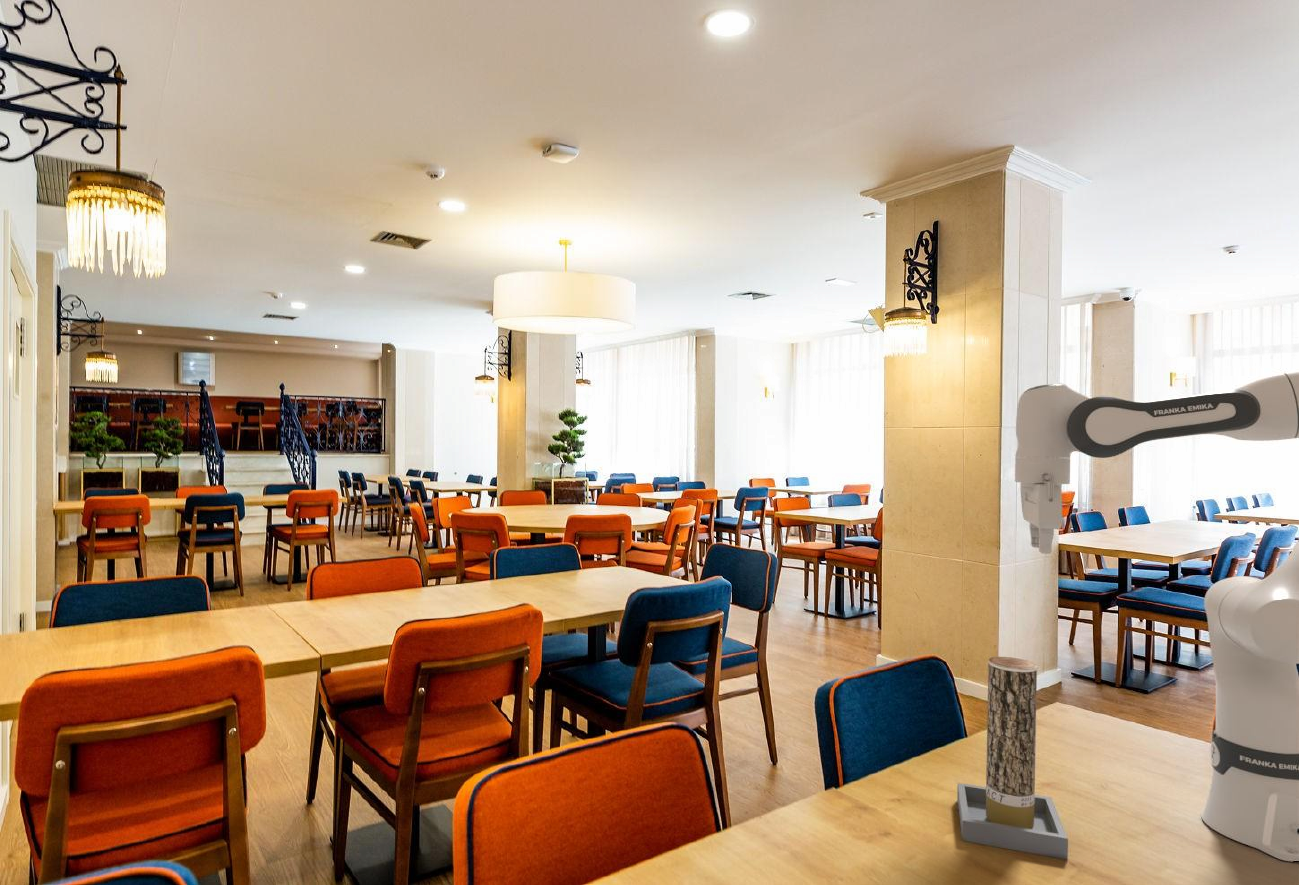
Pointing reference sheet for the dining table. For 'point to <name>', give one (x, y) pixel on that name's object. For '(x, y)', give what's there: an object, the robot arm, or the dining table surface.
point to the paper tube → (1011, 742)
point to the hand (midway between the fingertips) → (1040, 550)
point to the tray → (1038, 840)
